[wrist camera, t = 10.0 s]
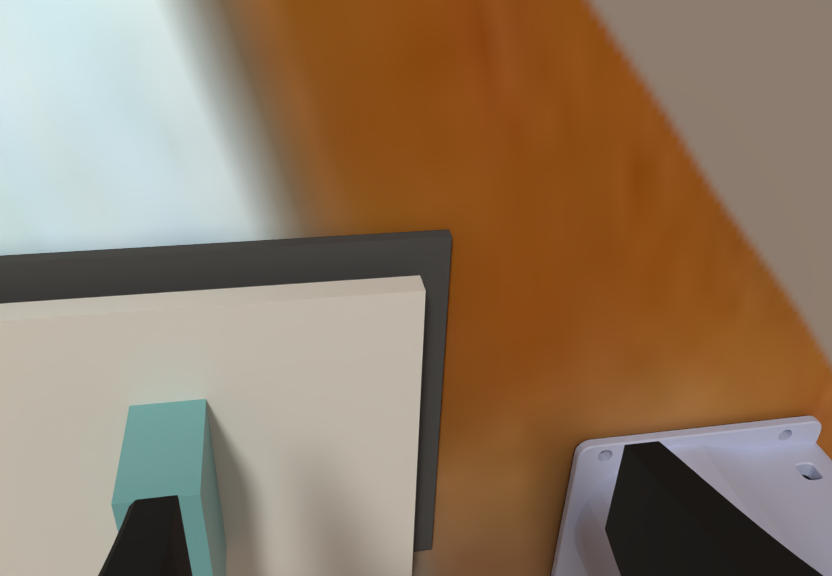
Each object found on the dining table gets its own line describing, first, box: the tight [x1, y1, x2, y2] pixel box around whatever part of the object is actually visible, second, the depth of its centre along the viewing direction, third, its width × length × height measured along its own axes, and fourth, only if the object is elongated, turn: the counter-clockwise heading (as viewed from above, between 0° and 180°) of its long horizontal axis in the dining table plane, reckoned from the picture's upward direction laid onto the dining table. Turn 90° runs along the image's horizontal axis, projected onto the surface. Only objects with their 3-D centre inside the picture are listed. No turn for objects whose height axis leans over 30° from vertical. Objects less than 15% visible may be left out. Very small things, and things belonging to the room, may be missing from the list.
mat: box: [0, 230, 452, 552], centre depth 24 cm, size 16×13×1 cm
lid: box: [0, 275, 426, 576], centre depth 22 cm, size 14×12×5 cm
